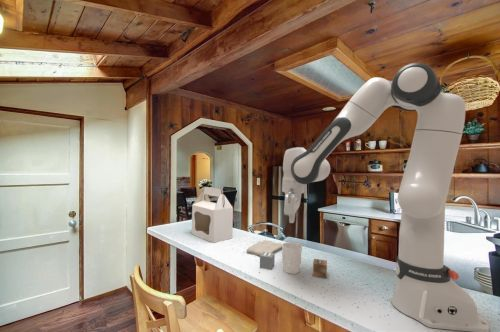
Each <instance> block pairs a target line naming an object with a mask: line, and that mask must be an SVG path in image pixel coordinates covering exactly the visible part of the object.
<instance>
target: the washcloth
mask: <svg viewBox="0 0 500 332" xmlns="http://www.w3.org/2000/svg"><path fill="white" fill-rule="evenodd" d="M282 244H283V243H279V242H274V241H271V240H266V239H265V240H263V241H258V242H257V243H254V244H252V245H251V246H248V247H247V249H246V253H247V254H250V255H255V256H257V257H260V255H261V254H262V253H263V252H268V253H275V255H276V254H277V253H279V252H280V251H282Z"/></svg>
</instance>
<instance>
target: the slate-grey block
mask: <svg viewBox="0 0 500 332" xmlns="http://www.w3.org/2000/svg"><path fill="white" fill-rule="evenodd" d="M275 255H276V254H275V253H268V252H263V253H262V254H261V255H260V256H259V269H265V270H270V271H271V270H273V268H274V266H275Z"/></svg>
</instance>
